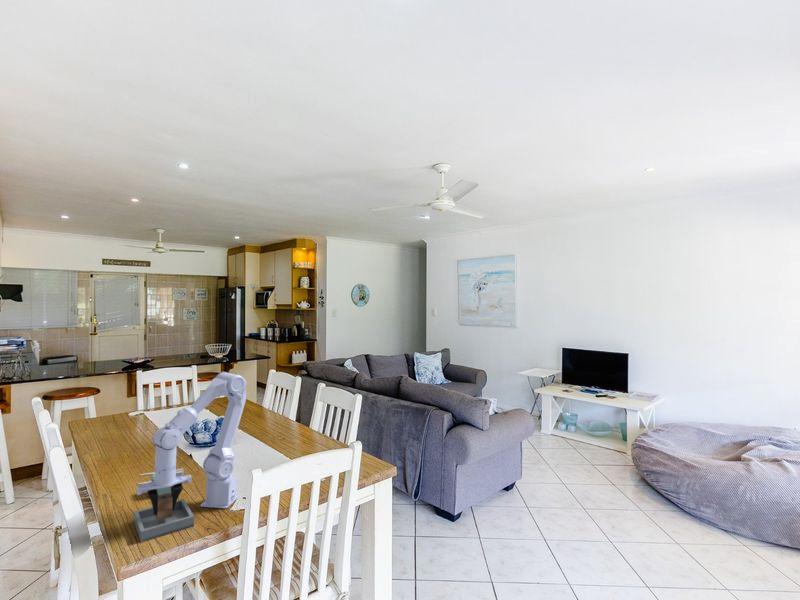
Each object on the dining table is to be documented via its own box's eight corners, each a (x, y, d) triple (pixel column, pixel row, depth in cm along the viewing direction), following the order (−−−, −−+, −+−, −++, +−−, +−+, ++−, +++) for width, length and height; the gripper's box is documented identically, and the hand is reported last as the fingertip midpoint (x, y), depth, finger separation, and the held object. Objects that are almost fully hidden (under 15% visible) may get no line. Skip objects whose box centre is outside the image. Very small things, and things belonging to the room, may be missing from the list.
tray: (183, 507, 136) (183, 498, 136) (194, 526, 125) (194, 516, 125) (133, 521, 127) (133, 511, 127) (140, 542, 116) (140, 531, 116)
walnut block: (169, 511, 129) (169, 492, 129) (172, 516, 126) (172, 496, 126) (154, 515, 126) (155, 495, 126) (157, 520, 123) (157, 500, 123)
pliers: (139, 471, 159) (183, 465, 167) (139, 476, 159) (183, 469, 167) (138, 482, 151) (183, 474, 158) (137, 486, 151) (183, 478, 158)
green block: (169, 487, 150) (170, 465, 150) (173, 493, 146) (173, 471, 146) (150, 491, 146) (151, 469, 146) (153, 498, 142) (154, 475, 142)
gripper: (188, 457, 134) (186, 499, 134) (136, 468, 124) (134, 513, 124) (193, 464, 128) (192, 508, 128) (139, 476, 119) (137, 522, 119)
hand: (163, 511), depth 126 cm, fingers closed on walnut block, 4 cm apart
